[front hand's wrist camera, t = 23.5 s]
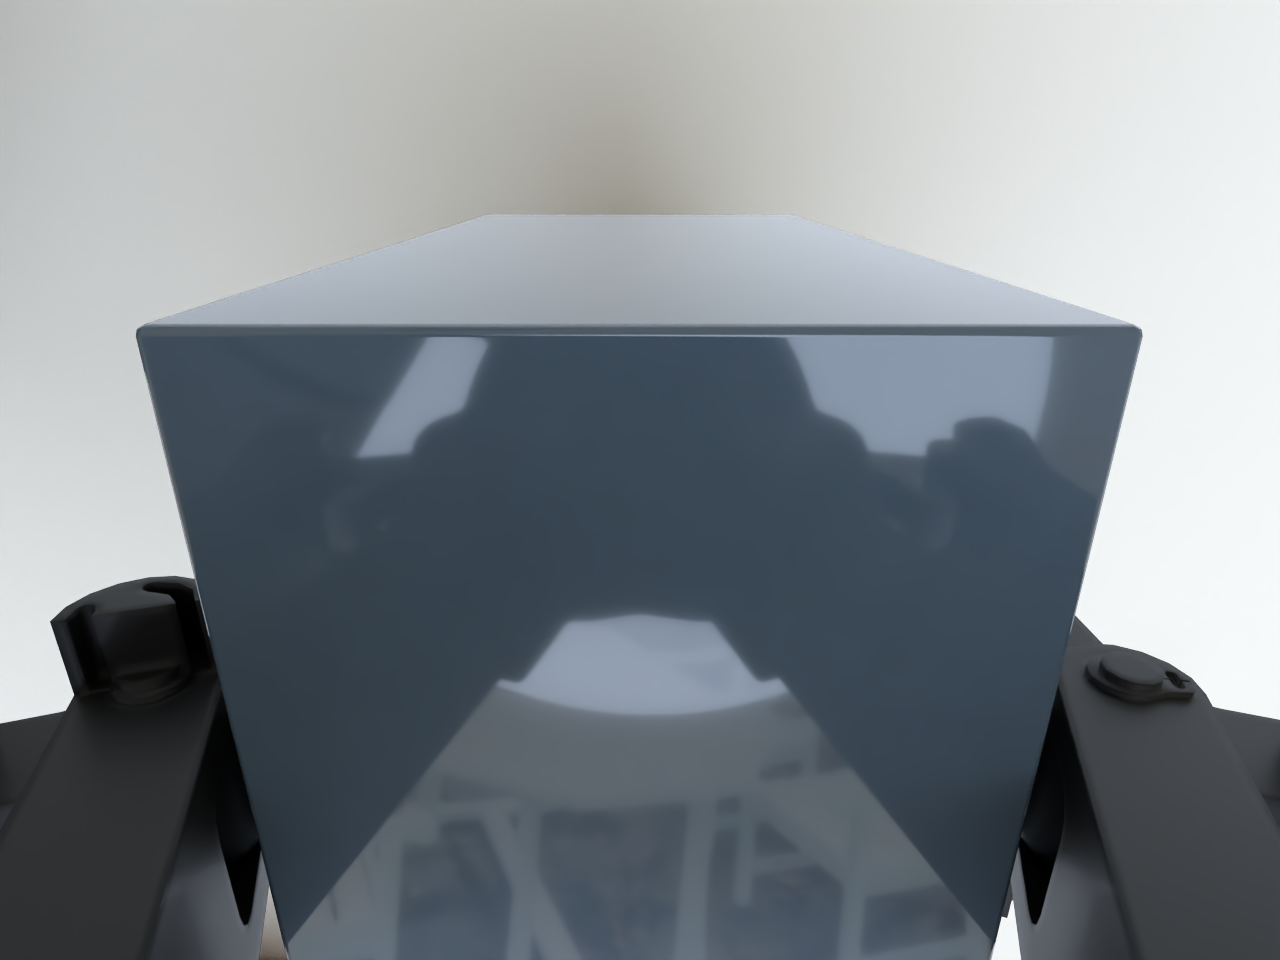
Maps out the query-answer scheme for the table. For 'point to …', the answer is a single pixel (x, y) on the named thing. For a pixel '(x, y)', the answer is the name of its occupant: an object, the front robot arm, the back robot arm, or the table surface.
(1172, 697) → the front robot arm
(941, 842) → the block
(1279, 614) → the table surface
